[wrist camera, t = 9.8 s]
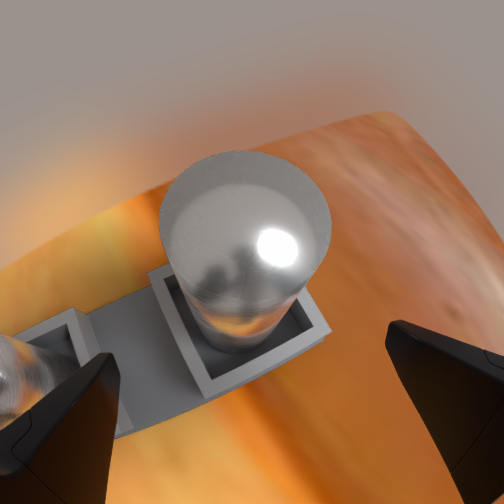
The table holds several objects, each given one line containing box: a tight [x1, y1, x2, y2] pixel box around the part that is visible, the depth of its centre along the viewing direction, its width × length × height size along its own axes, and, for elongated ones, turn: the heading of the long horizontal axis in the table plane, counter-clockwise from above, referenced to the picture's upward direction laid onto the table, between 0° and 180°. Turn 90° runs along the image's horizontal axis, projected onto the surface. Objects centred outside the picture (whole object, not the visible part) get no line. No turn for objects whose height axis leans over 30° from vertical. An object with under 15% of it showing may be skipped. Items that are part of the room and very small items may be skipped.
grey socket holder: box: [11, 263, 332, 439], centre depth 17 cm, size 22×9×4 cm, turn 118°
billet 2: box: [159, 151, 332, 354], centre depth 14 cm, size 5×5×12 cm
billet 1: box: [0, 333, 81, 430], centre depth 11 cm, size 5×5×12 cm
